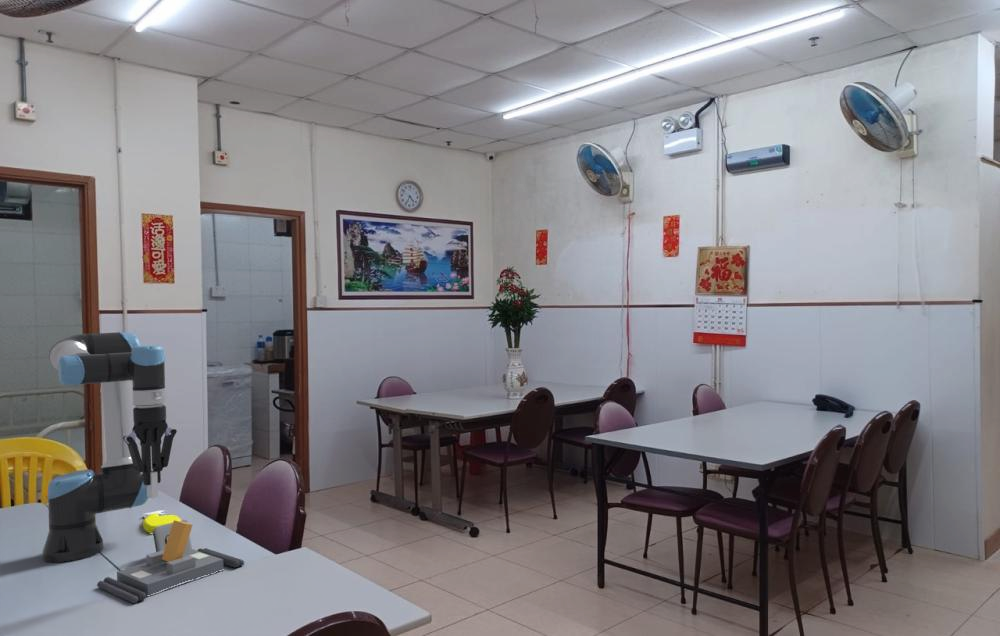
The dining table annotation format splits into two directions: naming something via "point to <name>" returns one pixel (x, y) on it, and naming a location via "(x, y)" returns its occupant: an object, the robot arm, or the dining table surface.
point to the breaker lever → (176, 541)
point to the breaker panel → (166, 577)
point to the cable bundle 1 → (121, 590)
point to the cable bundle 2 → (224, 558)
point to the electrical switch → (166, 536)
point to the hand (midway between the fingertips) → (152, 496)
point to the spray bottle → (157, 520)
